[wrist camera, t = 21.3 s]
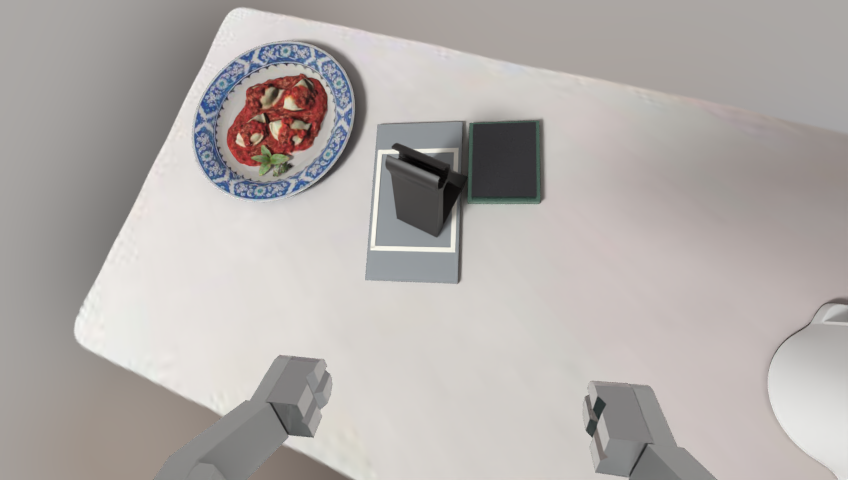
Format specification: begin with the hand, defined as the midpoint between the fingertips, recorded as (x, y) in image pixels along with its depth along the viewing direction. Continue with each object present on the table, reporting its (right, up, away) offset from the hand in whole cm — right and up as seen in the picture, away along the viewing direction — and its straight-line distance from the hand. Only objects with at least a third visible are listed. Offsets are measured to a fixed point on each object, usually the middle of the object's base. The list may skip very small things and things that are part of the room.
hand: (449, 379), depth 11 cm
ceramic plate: (-23, +22, +42) cm, 53 cm away
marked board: (-2, +10, +36) cm, 38 cm away
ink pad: (+10, +14, +35) cm, 39 cm away
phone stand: (0, +10, +35) cm, 37 cm away
